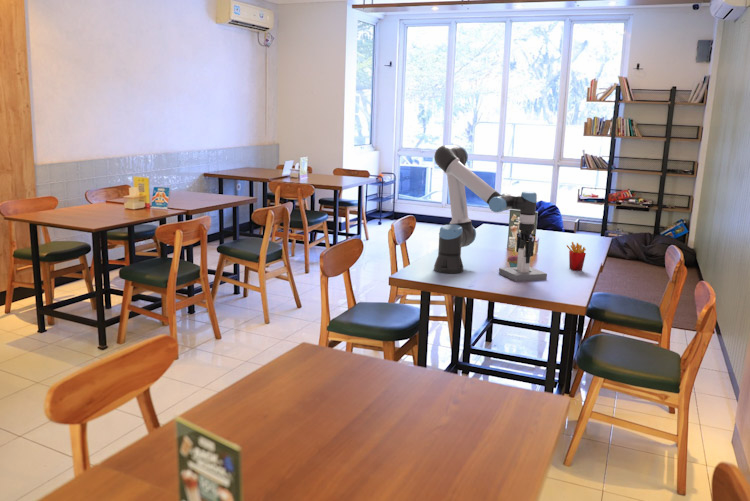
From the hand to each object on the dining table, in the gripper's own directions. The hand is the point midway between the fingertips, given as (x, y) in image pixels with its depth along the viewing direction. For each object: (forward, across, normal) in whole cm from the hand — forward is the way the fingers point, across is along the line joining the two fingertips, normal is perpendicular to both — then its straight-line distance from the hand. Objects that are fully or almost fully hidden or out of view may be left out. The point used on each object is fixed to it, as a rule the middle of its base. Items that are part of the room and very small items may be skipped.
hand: (523, 267), depth 325 cm
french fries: (+5, +7, -37) cm, 38 cm away
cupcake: (+5, +17, -6) cm, 19 cm away
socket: (+4, 0, 0) cm, 4 cm away
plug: (+2, 0, 0) cm, 2 cm away
